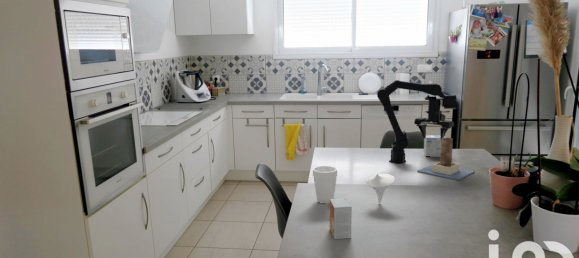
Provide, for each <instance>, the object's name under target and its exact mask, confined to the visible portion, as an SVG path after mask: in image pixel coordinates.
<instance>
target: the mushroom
mask: <svg viewBox="0 0 579 258" xmlns="http://www.w3.org/2000/svg"><path fill="white" fill-rule="evenodd" d="M395 180H396V178H395V176H394V175H392V174H390V173H389V174H387V173H377V174H375V175H371V176H370V177H368V179H366V180H365V183H366V185H367V186H368V187H370V188H372V189H373V190H374V191H375V193H376V196H377V200H378V204H379V203H381V204H382V199H383V197H384V193H385V192H386V190H387V188H388V187H389V186H391V185H392V184H394V182H395Z"/></svg>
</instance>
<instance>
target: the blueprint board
mask: <svg viewBox="0 0 579 258" xmlns="http://www.w3.org/2000/svg"><path fill="white" fill-rule="evenodd" d="M417 173H422V174H426V175H430V176H434V177H440V178H445V179H449V180H456V181H461V180H462V179H464V178H466V177H469V176H470V175H472V174H474V173H475V171H473V170H469V169H464V168H460V163H455V162H452V165H451V167H446V166H441V165H440V161H437V162H435V163H433V164H430V165H427V166H426V167H423V168H421V169H418V170H417Z"/></svg>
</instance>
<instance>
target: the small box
mask: <svg viewBox="0 0 579 258" xmlns="http://www.w3.org/2000/svg"><path fill="white" fill-rule="evenodd" d="M352 219H353V218H352V205H351V204H350V203H349V201H348V200H347V198H346V197H345V198H342V197H341V198H334V199H330V204H329V230H330V232H331V234H332V237H333V240H343V239H346V238H347V239H352Z"/></svg>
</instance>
